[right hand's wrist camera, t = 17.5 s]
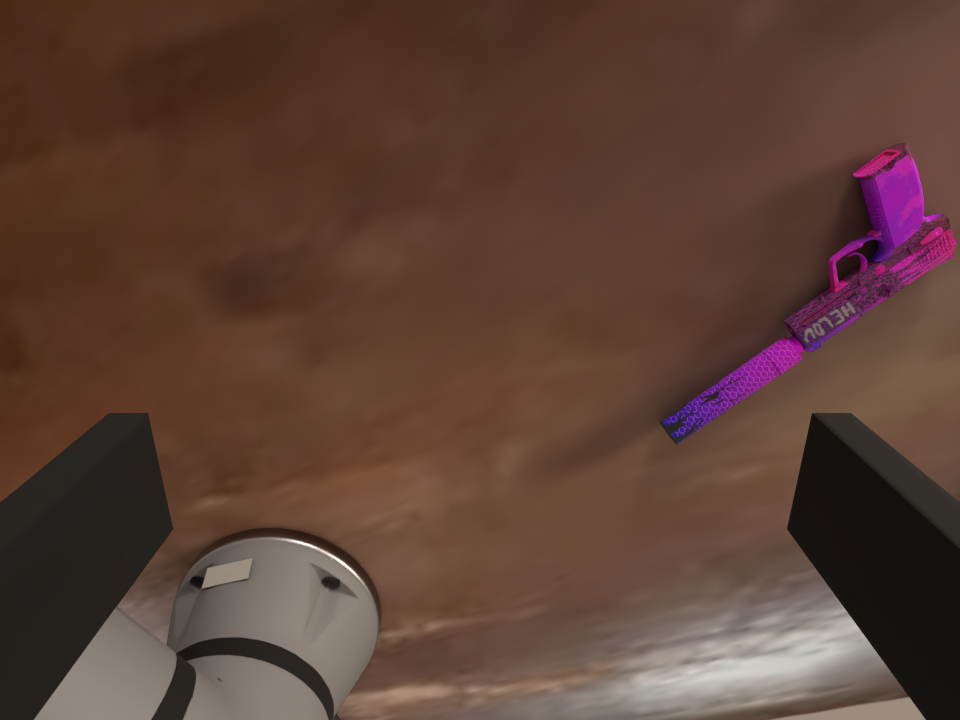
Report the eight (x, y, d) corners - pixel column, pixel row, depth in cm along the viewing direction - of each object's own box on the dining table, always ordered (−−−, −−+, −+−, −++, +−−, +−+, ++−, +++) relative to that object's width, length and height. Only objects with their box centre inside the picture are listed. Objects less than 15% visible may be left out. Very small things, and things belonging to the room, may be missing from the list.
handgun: (893, 141, 37) (914, 142, 35) (954, 242, 39) (977, 247, 37) (607, 359, 41) (612, 370, 40) (674, 438, 43) (682, 452, 42)
